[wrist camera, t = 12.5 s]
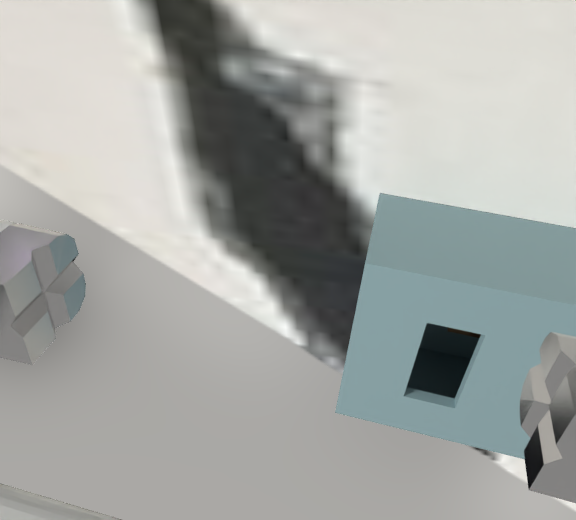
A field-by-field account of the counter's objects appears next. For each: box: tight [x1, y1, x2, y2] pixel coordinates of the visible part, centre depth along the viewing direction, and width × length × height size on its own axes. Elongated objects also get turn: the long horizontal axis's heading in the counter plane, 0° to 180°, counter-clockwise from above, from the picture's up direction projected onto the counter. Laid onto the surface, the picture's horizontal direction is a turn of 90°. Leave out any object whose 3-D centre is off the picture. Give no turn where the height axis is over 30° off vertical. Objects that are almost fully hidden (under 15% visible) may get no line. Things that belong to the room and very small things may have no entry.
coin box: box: [335, 193, 576, 459], centre depth 42 cm, size 20×16×10 cm
